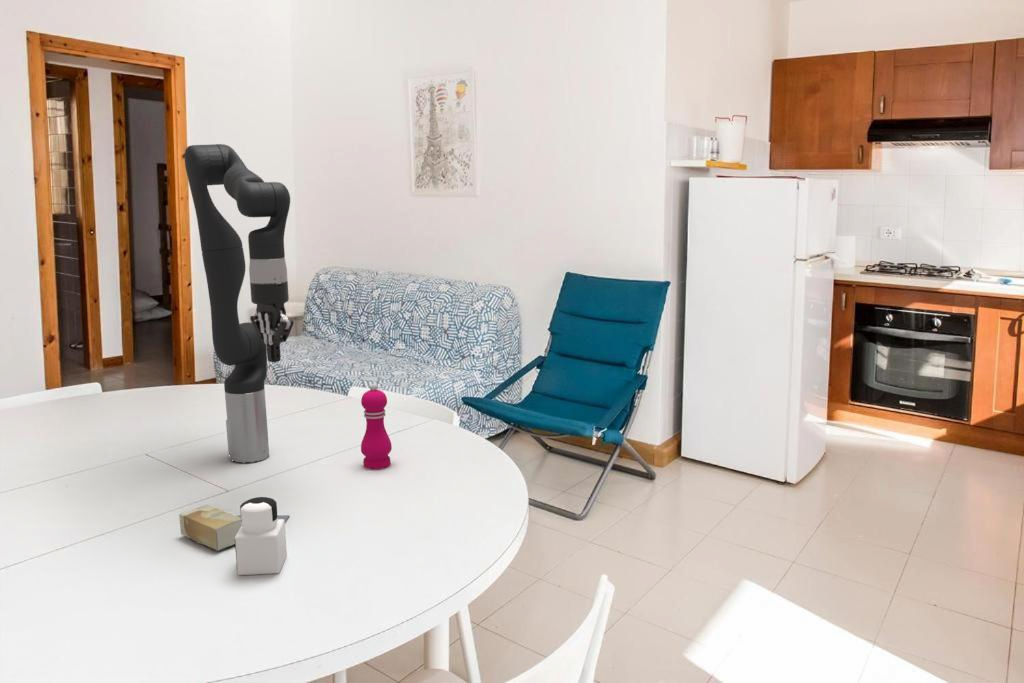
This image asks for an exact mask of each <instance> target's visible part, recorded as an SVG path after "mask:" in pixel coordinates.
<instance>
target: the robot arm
mask: <svg viewBox="0 0 1024 683" xmlns="http://www.w3.org/2000/svg"><path fill="white" fill-rule="evenodd" d="M184 166H185V171H186V176H187V180H188V185H189V188H190V194H191V197H192V201H193V206H194V211H195V215H196V221H197V226H198V233H199V241H200V249H201V256H202V262H203V266H204V268H203V269H204V273H205V277H206V283H207V290H208V296H209V306H210V317H211V318H210V319H211V332H212V334H211V335H212V346H213V350H214V352H215V354H216V357H217V358H218V360H219V361H220V362H221V363H222V364H224V365H225V366H234V368H233V369H232V372H231V373H230V374H229V375H228V376H227V377H226V378H225V379H224V381H223V383H224V384H223V387H224V389H223V390H224V397H225V398H224V399H225V408H226V409H225V411H226V420H225V426H226V437H227V438H226V439H227V449H228V450H227V451H228V456H229V455H230V457H229V460H230V459H231V460H233V461H236V462H251V463H256V462H255V461H257V462H261V461H263V460H266V459H267V458H269V457H270V449H269V447H270V446H269V445H270V444H269V432H268V431H269V430H268V429H269V428H268V419H267V403H266V390H265V381H266V378H267V374H268V364H267V363H268V362H269V363H277V362H280V361H281V357H282V356H281V344H282V343H285V342H287V340H288V338H289V335H290V333H291V331H292V329H293V326H294V323H295V322H294V320H293V319H289V318H288V317H287V311H286V308H285V303H287V302H289V297H290V296H289V295H290V294H289V285H288V284H289V283H288V269H287V263H286V257H285V256H286V254H285V243H284V242H285V240H284V239H285V232H286V225H287V219H288V216H289V210H290V208H291V207H290V206H291V195H290V192H289V189H288V188H287V186H286V185H285V184H283V183H281V182H277V181H270V182H269V181H268V182H267V181H264V180H263V179H262V177H260V176H259V175H257V173H255V172H253V171H252V170H250V169H249V168H248V167H247V165H246V164H245V162H243V160H242V158H240V156H239V154H238V153H237V152H236V150H235V149H234V148H232V147H231V146H229V145H227V144H222V143H220V144H219V143H216V144H215V143H214V144H213V143H212V144H193V145H189V146H187V147H186V148H185V151H184ZM220 185H223V187H224V191H225V192H226V193H227V194H228V195H229V196H230V197H231V198H232V199H234V200H235V201H236V207H237V210H238V212H239V213H240V215H242V216H244V217H247V218H269V220H268V223H267V224H266V226H264V227H261V228H256V229H252V230H251V231H250V232H249V233H248V236H247V242H248V254H249V266H248V269H249V270H248V272H249V286H250V300H251V303H252V304H254V305H256V308H255V309H256V310H255V311H256V313H255V314H254V315H250V317H249V319H250V322H249V321H248V322H243V323H241V322H240V319H239V313H238V312H239V310H238V309H239V308H238V301H239V297H240V293H241V289H242V286H243V284H244V283H243V282H244V279H245V274H246V260H245V253H244V252H245V251H244V247H243V242H242V239H241V237H240V235H239V234H238V232H237V231H236V230H235V229H234V228H233V227H232V225H231V224H230V222H228V221H227V219H225V217H224V216H223V215H222V213H221V212H220V211H219V210H218V208H217V207H216V206H215V203H214V201H213V199H212V198H211V195H210V192H209V188H208V186H220ZM231 460H230V461H231ZM260 460H261V461H260ZM233 461H232V462H233ZM236 462H235V463H236Z"/></svg>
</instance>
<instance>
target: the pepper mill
mask: <svg viewBox="0 0 1024 683" xmlns="http://www.w3.org/2000/svg"><path fill="white" fill-rule="evenodd" d="M360 403H361V406H362V408H363V409H364V411H363V414H364V415H363V417H364V419H365V421H366V428H365V432H364V435H363V438H362V441H361V444H360V451H361V454H362V455H363V456H364V458H363V467H364V468H365V469H368V470H374V469H376V470H382V469H386V468H388V467H390V466H389V465H391V456H389V455H390V453H391V451H392V448H393V447H392V441H391V438H390V436H389V434H388V433H387V431H386V427H385V422H384V420H385V417H386V410H385V407H386V406H387V405H388V398H387V395H386V393H385V392H384V391H382V390H380V389H378V385H377V384H376V383H371V384H370V385H369V390H367V391H365V392H364V393H363V394H362V396H361V399H360Z"/></svg>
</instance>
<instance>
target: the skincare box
mask: <svg viewBox="0 0 1024 683" xmlns="http://www.w3.org/2000/svg"><path fill="white" fill-rule="evenodd" d="M238 516H239V515H234V514H232V513H230V512H227V511H225V510H223V509H220V508H217V507H215V506H213V505H210V504H203V505H200V506H198V507H194V508H193V509H190V510H187V511H184V512H181V513H179V527H180V528H179V529H180V534H181V536H184V537H186V538H189V539H191V540H193V541H195V542H196V543H197V542H199V543H198V544H203V545H204V546H206V547H209V548H211V549H213V550H216V551H220V550H223V549H226V548H228V547H230V546H231V547H232V546H233V545H234V546H235V536H236V534H237V533H238V531H239V529H240V528H241V526H242V525H241V518H240V517H238Z"/></svg>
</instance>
